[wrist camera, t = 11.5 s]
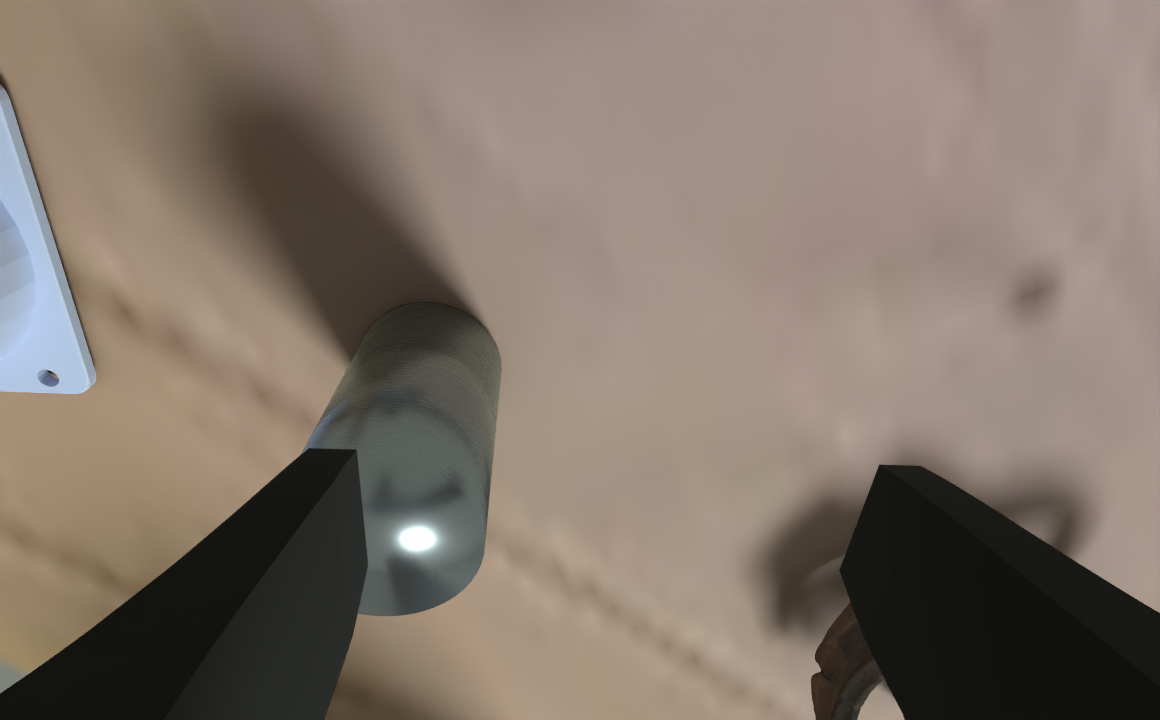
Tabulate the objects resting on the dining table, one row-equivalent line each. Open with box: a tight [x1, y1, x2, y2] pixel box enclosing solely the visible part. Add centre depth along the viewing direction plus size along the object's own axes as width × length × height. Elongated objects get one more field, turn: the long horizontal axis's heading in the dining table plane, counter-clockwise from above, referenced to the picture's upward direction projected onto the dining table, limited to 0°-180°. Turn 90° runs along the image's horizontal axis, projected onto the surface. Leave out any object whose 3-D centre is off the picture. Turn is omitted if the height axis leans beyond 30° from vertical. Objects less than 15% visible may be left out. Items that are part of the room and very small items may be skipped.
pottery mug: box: [811, 602, 906, 720], centre depth 23 cm, size 12×10×8 cm
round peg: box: [302, 302, 502, 616], centre depth 15 cm, size 4×4×7 cm
